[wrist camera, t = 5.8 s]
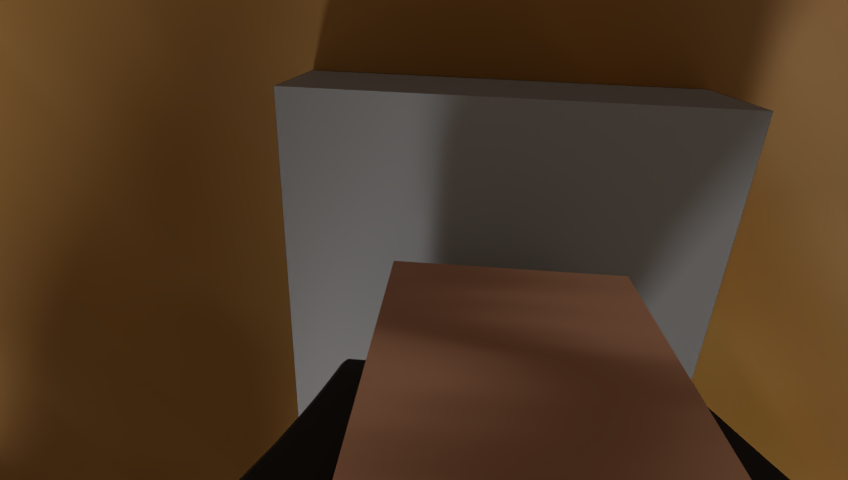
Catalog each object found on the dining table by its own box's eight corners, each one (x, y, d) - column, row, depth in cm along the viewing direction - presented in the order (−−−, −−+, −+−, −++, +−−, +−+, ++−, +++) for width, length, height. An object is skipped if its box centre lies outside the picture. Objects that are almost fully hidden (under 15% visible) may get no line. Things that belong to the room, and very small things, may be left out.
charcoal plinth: (326, 381, 18) (301, 450, 15) (312, 70, 14) (273, 86, 11) (629, 405, 17) (660, 480, 14) (708, 89, 13) (773, 110, 10)
